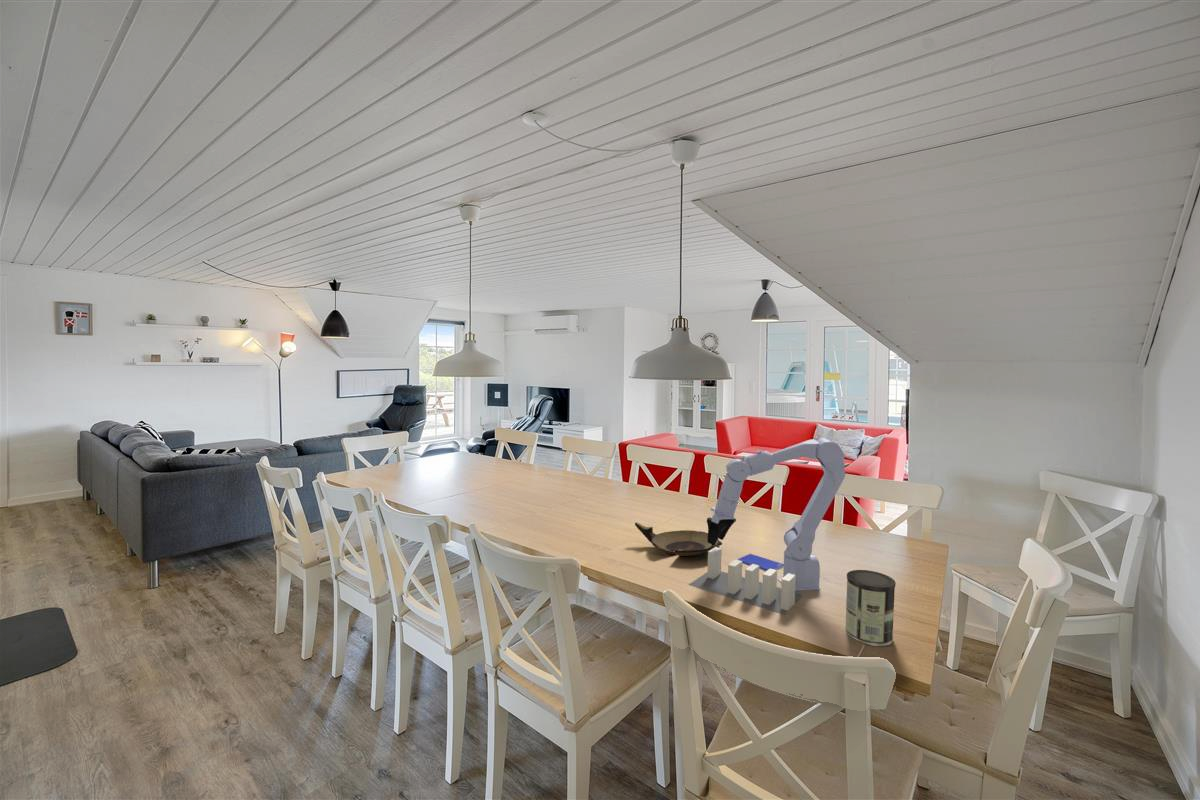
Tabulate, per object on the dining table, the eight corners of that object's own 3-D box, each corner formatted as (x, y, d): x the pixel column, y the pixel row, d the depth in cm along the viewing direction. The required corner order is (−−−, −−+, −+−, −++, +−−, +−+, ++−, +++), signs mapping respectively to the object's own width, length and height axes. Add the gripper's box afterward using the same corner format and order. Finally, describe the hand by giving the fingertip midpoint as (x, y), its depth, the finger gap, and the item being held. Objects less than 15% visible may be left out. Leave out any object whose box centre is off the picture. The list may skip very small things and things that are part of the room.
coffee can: (874, 623, 129) (877, 568, 128) (903, 645, 119) (905, 586, 118) (835, 625, 128) (838, 569, 127) (860, 648, 118) (863, 588, 117)
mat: (803, 595, 144) (803, 594, 144) (784, 616, 132) (784, 614, 132) (712, 569, 162) (712, 568, 162) (688, 585, 150) (688, 584, 150)
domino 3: (758, 593, 144) (759, 565, 144) (751, 599, 141) (752, 571, 140) (751, 591, 146) (752, 563, 145) (744, 597, 142) (745, 569, 141)
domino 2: (741, 588, 148) (742, 561, 147) (734, 594, 144) (734, 566, 143) (735, 586, 149) (735, 559, 148) (727, 592, 145) (728, 564, 144)
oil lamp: (692, 572, 160) (692, 548, 160) (625, 546, 183) (625, 524, 182) (734, 555, 175) (735, 532, 174) (667, 532, 197) (668, 513, 197)
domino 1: (721, 573, 158) (721, 548, 157) (713, 579, 154) (714, 552, 153) (715, 572, 159) (715, 546, 158) (707, 577, 155) (708, 551, 155)
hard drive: (785, 563, 164) (750, 553, 174) (771, 570, 159) (737, 559, 168) (785, 568, 164) (750, 557, 174) (771, 575, 159) (736, 563, 168)
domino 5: (794, 604, 138) (795, 575, 138) (788, 610, 134) (789, 581, 134) (787, 601, 139) (788, 573, 139) (780, 608, 136) (781, 579, 135)
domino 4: (776, 598, 141) (777, 570, 141) (769, 605, 137) (770, 576, 137) (769, 596, 143) (769, 568, 142) (762, 602, 139) (762, 574, 138)
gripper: (723, 490, 161) (711, 531, 163) (707, 496, 149) (694, 540, 150) (745, 499, 157) (732, 540, 159) (730, 506, 145) (716, 550, 147)
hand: (715, 541), depth 154 cm, fingers open, 7 cm apart
